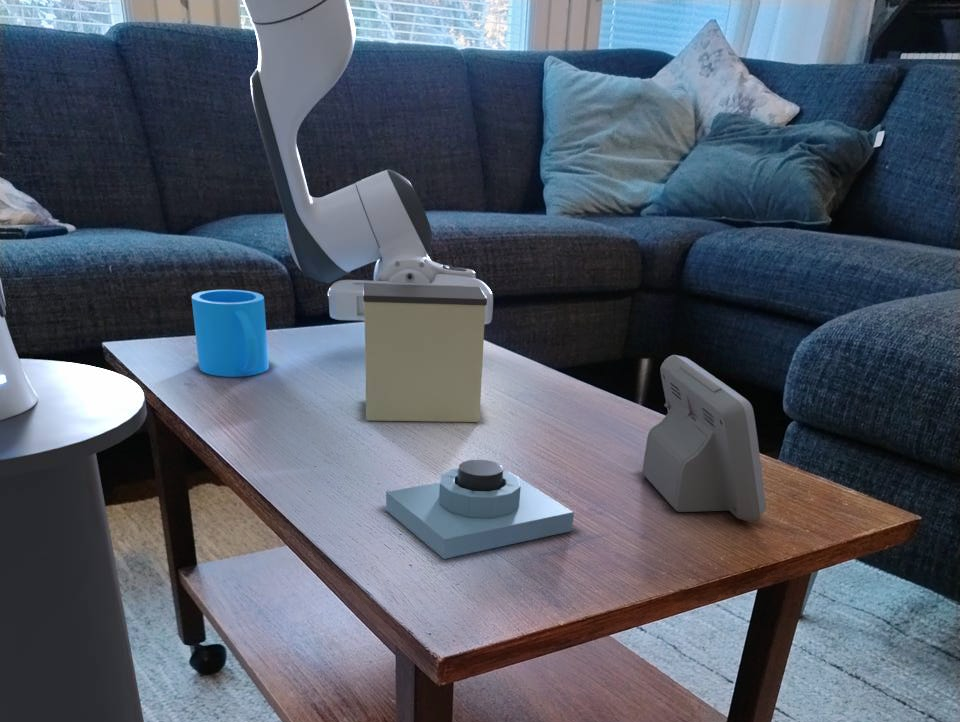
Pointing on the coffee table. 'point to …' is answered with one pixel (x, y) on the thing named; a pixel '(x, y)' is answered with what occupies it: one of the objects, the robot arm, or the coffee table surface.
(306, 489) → the coffee table surface
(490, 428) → the coffee table surface
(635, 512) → the coffee table surface
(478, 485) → the timer button
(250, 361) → the mug
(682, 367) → the digital clock
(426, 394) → the box
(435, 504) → the box
